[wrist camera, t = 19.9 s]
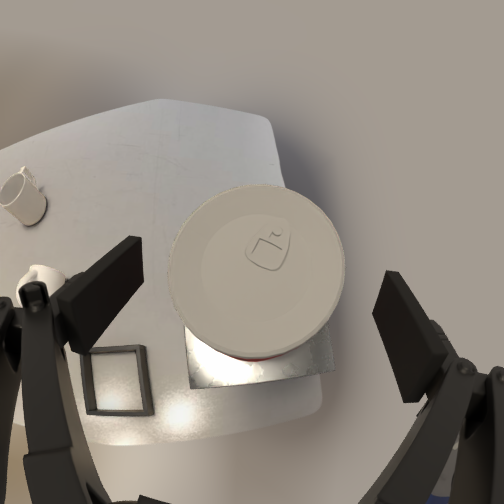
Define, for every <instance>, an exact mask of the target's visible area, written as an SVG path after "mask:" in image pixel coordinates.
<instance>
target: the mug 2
mask: <svg viewBox="0 0 504 504" xmlns="http://www.w3.org/2000/svg"><path fill="white" fill-rule="evenodd" d="M32 281H42V282H44V283H45V284H46V286H47V290H48V295H49V297H50V296H51V295H52V294H53V293H54V292H55V291H56V290H58V289H59V288H60V287H62V285H63V284H64V282H65V274H64V273H62V272H60V271H58V270H56V269H54V268H51V267H47V266H43V265H31V266H30V269H29V272H28V273H27V274H26V275H25V276H23V277H22V279H21V280H20V281H19V283H18V285H17V289H16V296H17V300H18V302H19V304H20V305H21V307H22V303H21V300H20V297H19V293H18V291H19V288H20V287H21V286H23V285H24V284H26V283H28V282H32ZM22 308H23V307H22Z"/></svg>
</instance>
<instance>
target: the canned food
mask: <svg viewBox="0 0 504 504" xmlns="http://www.w3.org/2000/svg"><path fill="white" fill-rule="evenodd" d="M167 273H168V284H169V291H170V295H171V298H172V301H173V304H174V307H175V309H176V311H177V312H178V314H179V316H180V318H181V319H182V321H183V323H184V325H185V326H186V327H187V328H188V329H189V330H190V331H191V332H192V334H193V335H194V336H195V337H196V338H197V339H199V340H200V341H201V342H203V343H204V344H206V345H207V346H208V347H210V348H211V349H213V350H214V351H217V352H219V353H222V354H224V355H226V356H229V357H231V358H234V359H237V360H241V361H247V362H259V361H264V360H268V359H272V358H275V357H278V356H281V355H284V354H286V353H288V352H290V351H292V350H294V349H296V348H298V347H300V346H301V345H303V344H304V343H305V342H307V341H308V340H309V339H311V338H312V337H313V336H315V335H316V334H317V332H318V331H319V330H320V329H321V328H322V327H323V326H324V324H325V323H326V322H327V321H328V319H329V318H330V316H331V314H332V313H333V311H334V309H335V307H336V305H337V304H338V301H339V298H340V295H341V292H342V289H343V286H344V277H345V261H344V251H343V248H342V244H341V241H340V238H339V235H338V233H337V232H336V230H335V228H334V226H333V224H332V222H331V221H330V220H329V218H328V217H327V216H326V215H325V214H324V212H323V211H322V210H321V209H320V208H318V206H316V205H315V204H314V203H313V202H311V201H310V200H309V199H307V198H306V197H304V196H302V195H300V194H298V193H297V192H294V191H291V190H288V189H286V188H283V187H279V186H272V185H266V184H262V185H246V186H240V187H235V188H232V189H229V190H227V191H224V192H221V193H219V194H217V195H216V196H214V197H212V198H210V199H209V200H207V201H205V202H204V203H203V204H202V205H201V206H199V207H198V208H197V209H196V210H195V211H194V212H193V213H192V214H191V215H190V216H189V218H188V219H187V220H186V221H185V222H184V224H183V225H182V227H181V229H180V230H179V232H178V234H177V236H176V238H175V240H174V243H173V246H172V249H171V252H170V255H169V263H168V272H167Z"/></svg>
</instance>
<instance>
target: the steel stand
mask: <svg viewBox="0 0 504 504" xmlns="http://www.w3.org/2000/svg"><path fill="white" fill-rule="evenodd" d="M184 333H185V344H186V355H187V365H188V374H189V383H190V389H204V388H217V387H229V386H239V385H248V384H256V383H264V382H272V381H279V380H285V379H292V378H298V377H304V376H309V375H315V374H320V373H325V372H330V371H335V364H334V357H333V351H332V344H331V338H330V332H329V326H328V321H327V322H326V323H325V324H324V326H323V327H322V328H321V329H320V330H319V331H318V332H317V334H316V335H315V336H313V337H312V338H311V339H309V340H308V341H307V342H305V343H304V344H303V345H301V346H300V347H298V348H296V349H294V350H292V351H290V352H288V353H286V354H284V355H281V356H278V357H275V358H272V359H268V360H264V361H259V362H247V361H241V360H237V359H234V358H231V357H229V356H226V355H224V354H222V353H219V352H217V351H214V350H213V349H211V348H210V347H208V346H207V345H206V344H204V343H203V342H201V341H200V340H199V339H197V338H196V337H195V336H194V335H193V334H192V332H191V331H190V330H189V329H188V328H187V327H186V326H185V325H184Z"/></svg>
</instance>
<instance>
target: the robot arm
mask: <svg viewBox="0 0 504 504" xmlns="http://www.w3.org/2000/svg"><path fill="white" fill-rule="evenodd" d="M143 282H144V275H143V259H142V238H141V237H136V236H128V237H127V238H126V239H124V240H123V241H122V242H120V243H119V244H118V245H117V246H115V247H114V248H113V249H112V250H110V251H109V252H108V253H107V254H106V255H104V256H103V257H102V258H101V259H100V260H98V261H97V262H96V263H95V264H94V265H92V266H91V267H90V268H89V269H88V270H86V271H85V272H81V273H79V274H76V275H74V276H73V277H72V278H70V279H69V280H68V281H67V282H66V283H64V284H63V285H62V287H60V288H59V289H58V290H56V291H55V292H54V293H53V294H52V295H51V296H50V297H49V295H48V290H47V286H46V284H45V283H44V282H42V281H32V282H28V283H26V284H24V285H23V286H21V287H20V288H19V291H18V293H19V297H20V300H21V303H22V307H23V308H17V307H13V303H12V301H11V299H10V298H9V297H0V504H4V501H5V495H6V483H7V482H6V481H7V466H8V453H9V444H10V436H11V430H12V423H13V417H14V411H15V406H16V401H17V396H18V391H19V386H20V382H21V380H22V398H23V411H24V420H25V428H26V435H27V443H28V449H29V452H28V454H26V455H24V457H23V465H24V470H25V475H26V480H27V484H28V489H29V493H30V497H31V501H32V504H170V503H166V502H162V501H158V500H155V499H152V498H149V497H146V496H142V495H139V498H138V501H119V502H118V501H117V502H111V499H110V498H109V496H108V494H107V492H106V491H105V489H104V488H103V485H102V483H101V481H100V478H99V476H98V473H97V470H96V468H95V465H94V462H93V459H92V456H91V453H90V451H89V447H88V445H87V441H86V438H85V435H84V431H83V428H82V424H81V421H80V417H79V413H78V409H77V405H76V401H75V397H74V393H73V388H72V384H71V379H70V374H69V369H68V363H67V357H66V352H65V349H64V345H65V344H66V343H67V342H69V345H70V348H71V351H73V352H75V353H78V354H81V355H84V356H86V355H87V353H88V352H89V351H90V349H91V348H92V347H93V345H94V344H95V343H96V341H97V340H98V339H99V338H100V336H101V335H102V334H103V332H104V331H105V330H106V328H107V327H108V326H109V325H110V323H111V322H112V321H113V320H114V318H115V317H116V316H117V314H118V313H119V312H120V311H121V309H122V308H123V307H124V306H125V304H126V303H127V302H128V301H129V299H130V298H131V297H132V296H133V295H134V293H135V292H136V291H137V290H138V288H139V287H140V286H141V285H142V284H143ZM372 315H373V317H374V320H375V322H376V325H377V328H378V330H379V333H380V336H381V338H382V341H383V344H384V346H385V349H386V352H387V355H388V357H389V361H390V363H391V366H392V369H393V372H394V375H395V378H396V381H397V384H398V387H399V390H400V393H401V397H402V400H403V403H414V402H415V403H416V402H419V401H420V399H421V398H422V397H423V395H424V393H426V395H427V398H428V400H427V401H426V403H425V405H424V406H423V407H422V409H421V410H420V411H419V413H418V414H417V419H416V421H415V422H414V424H413V426H412V427H411V429H410V431H409V432H408V434H407V436H406V437H405V439H404V440H403V442H402V444H401V445H400V447H399V449H398V450H397V451H396V453H395V454H394V456H393V457H392V459H391V460H390V462H389V463H388V465H387V466H386V468H385V469H384V470H383V472H382V473H381V475H380V476H379V477H378V479H377V480H376V481H375V483H374V484H373V485H372V486H371V488H370V489H369V490H368V492H367V493H366V494H365V495H364V497H363V498H362V499H361V500H360V502H359V503H358V504H426V502H427V500H428V498H429V496H430V495H431V494H432V495H434V496H439V497H449V501H448V504H504V368H503V367H499V366H496V367H494V368H493V369H492V370H491V372H490V373H489V374H488V375H487V374H482V373H478V372H477V369H476V367H475V365H474V364H473V363H472V362H470V361H469V360H467V359H465V358H459V356H458V355H457V353H456V351H455V349H454V348H453V346H452V344H451V343H450V341H448V338H447V336H446V335H445V333H444V331H443V330H442V328H441V327H440V326H439V325H438V324H437V323H436V322H435V321H434V320H429V318H428V317H427V315H426V313H425V312H424V310H423V309H422V307H421V305H420V304H419V302H418V301H417V299H416V298H415V296H414V294H413V293H412V291H411V290H410V288H409V287H408V285H407V284H406V282H405V281H404V279H403V278H402V276H401V275H400V273H399V272H395V271H387V270H386V273H385V276H384V279H383V282H382V285H381V289H380V292H379V295H378V298H377V301H376V304H375V306H374V309H373V312H372Z"/></svg>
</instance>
